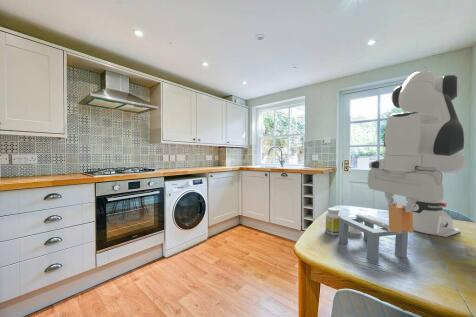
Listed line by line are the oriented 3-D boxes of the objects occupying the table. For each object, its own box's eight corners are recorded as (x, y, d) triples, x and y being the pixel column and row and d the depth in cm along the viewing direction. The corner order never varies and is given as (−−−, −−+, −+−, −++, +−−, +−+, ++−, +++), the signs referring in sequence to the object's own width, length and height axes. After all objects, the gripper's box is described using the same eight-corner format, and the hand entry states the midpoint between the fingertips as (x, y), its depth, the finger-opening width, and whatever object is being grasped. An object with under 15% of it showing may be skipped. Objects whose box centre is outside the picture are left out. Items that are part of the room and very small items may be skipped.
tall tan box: (402, 229, 64) (402, 205, 64) (413, 231, 61) (412, 207, 61) (389, 230, 63) (388, 206, 63) (399, 233, 60) (398, 208, 60)
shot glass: (365, 235, 90) (366, 219, 89) (348, 233, 91) (349, 218, 91) (359, 229, 96) (360, 215, 96) (344, 228, 98) (344, 213, 98)
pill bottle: (340, 231, 93) (341, 208, 93) (339, 236, 88) (340, 211, 88) (326, 228, 96) (327, 206, 96) (324, 233, 91) (325, 209, 91)
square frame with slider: (368, 237, 87) (369, 211, 87) (406, 257, 72) (408, 225, 71) (338, 240, 84) (339, 213, 83) (372, 261, 68) (373, 228, 68)
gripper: (451, 167, 52) (448, 220, 53) (379, 162, 72) (377, 200, 73) (433, 168, 51) (430, 222, 51) (364, 162, 70) (363, 201, 71)
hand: (399, 209), depth 62 cm, fingers closed on tall tan box, 3 cm apart
